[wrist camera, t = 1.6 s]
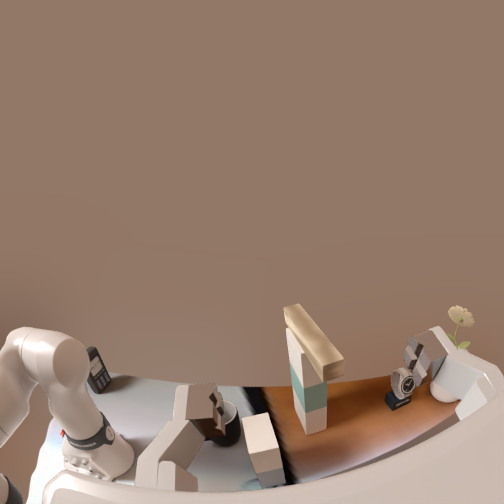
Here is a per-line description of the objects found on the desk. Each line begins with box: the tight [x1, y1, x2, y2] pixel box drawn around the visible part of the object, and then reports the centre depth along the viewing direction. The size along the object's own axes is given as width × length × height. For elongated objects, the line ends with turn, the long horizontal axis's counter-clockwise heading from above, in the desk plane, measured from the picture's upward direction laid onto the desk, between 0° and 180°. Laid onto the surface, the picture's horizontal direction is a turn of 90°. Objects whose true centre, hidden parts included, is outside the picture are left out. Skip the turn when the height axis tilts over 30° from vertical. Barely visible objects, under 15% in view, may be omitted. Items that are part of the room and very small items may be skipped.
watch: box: [385, 367, 416, 411], centre depth 52 cm, size 6×8×11 cm
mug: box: [204, 400, 241, 446], centre depth 53 cm, size 12×9×10 cm
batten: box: [284, 304, 344, 383], centre depth 47 cm, size 4×22×4 cm, turn 10°
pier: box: [242, 413, 286, 488], centre depth 41 cm, size 5×9×16 cm, turn 9°
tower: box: [286, 328, 327, 435], centre depth 54 cm, size 5×10×26 cm, turn 9°
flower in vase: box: [430, 306, 474, 403], centre depth 47 cm, size 13×11×25 cm
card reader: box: [86, 347, 111, 394], centre depth 74 cm, size 9×4×15 cm, turn 171°
